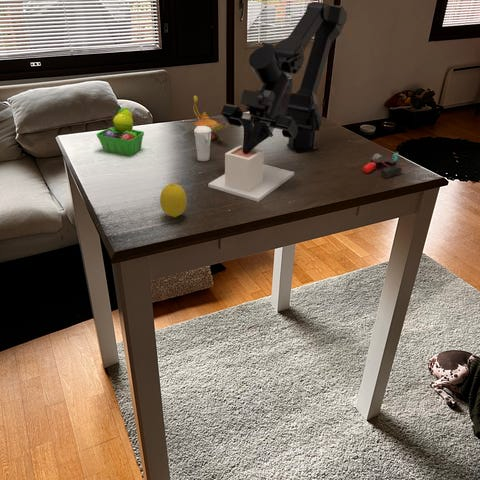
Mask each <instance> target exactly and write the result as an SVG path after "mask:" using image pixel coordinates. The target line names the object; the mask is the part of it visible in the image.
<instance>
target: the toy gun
mask: <svg viewBox="0 0 480 480" xmlns="http://www.w3.org/2000/svg"><path fill="white" fill-rule="evenodd" d="M398 156H399V152H395V153H393V154H392V156H391V159H390V158H388V157H387V156H386V157H385V156H384V155H381V154H380V153H375V154H373V156H372V158H371V159H370V162H369V163H367V164H365V165H364V166H363V167H362V172H363V173H364V174H368V173H370V172H372V171H374V170H381V171H380V177H382V178H383V179H390V178H391V177H395V176H401V174H402V168H403V166H402V165H400V164H399V163H397V162H398V161H397V160H398Z"/></svg>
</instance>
